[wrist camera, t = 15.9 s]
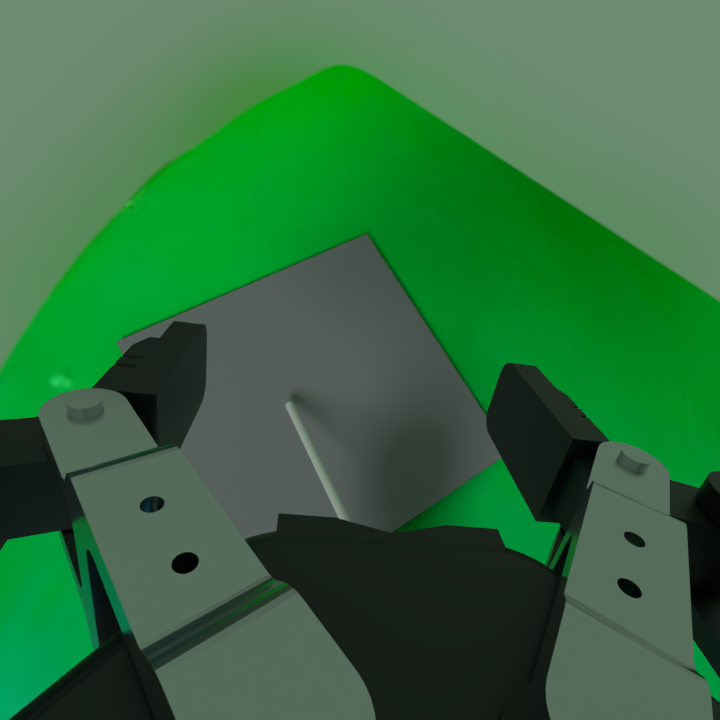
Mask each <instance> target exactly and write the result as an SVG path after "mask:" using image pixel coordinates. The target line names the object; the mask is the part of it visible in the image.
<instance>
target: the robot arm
mask: <svg viewBox="0 0 720 720" xmlns="http://www.w3.org/2000/svg"><path fill="white" fill-rule="evenodd" d="M206 363H207V329H206V325H204V324H196V323H188V322H180V321H174V322H172V324H171V325H170V326H169V327H168V328H167V330H166V331H165V332H164V333H163V334H162V336H161V337H160V338H155V337H148V338H146V339H144V340H141V341H139V342H137V343H135V344H133V345H132V346H131V347H130V348H129V349H128V350H127V351H126V352H125V353H124V354H123V357H120V358H119V359H118V361H117V362H116V363H115V366H114V365H113V366H112V367H111V368H110V369H109V370H108V371H107V372H106V373H105V374H104V375H103V377H102V378H101V379H100V380H99V381H98V382H97V383H96V384H95V385H94V386H93V387H92V388H89V389H80V390H74V391H70V392H66V393H63V394H60V395H58V396H55V397H54V398H52V399H50V400H48V401H47V402H46V403H45V404H44V405H43V406H42V407H41V408H40V410H39V414H38V415H39V417H32V418H22V419H10V420H0V550H1V548H2V547H3V545H4V544H5V543H6V541H7V539H13V538H19V537H25V536H31V535H37V534H42V533H48V532H54V531H59V536H60V539H61V542H62V545H63V548H64V551H65V554H66V557H67V560H68V563H69V566H70V569H71V572H72V575H73V578H74V581H75V584H76V587H77V590H78V593H79V596H80V599H81V602H82V605H83V608H84V612H85V616H86V620H87V624H88V628H89V633H90V637H91V641H92V644H93V648H94V651H93V652H92V653H91V654H90V655H88V656H87V657H86V658H85V659H83V660H82V661H81V662H80V663H78V664H77V665H76V666H75V667H73V668H72V669H71V670H70V671H68V672H67V673H66V674H65V675H64V676H62V677H61V678H60V679H59V680H57V681H56V682H55V683H54V684H52V685H51V686H50V687H49V688H47V689H46V690H45V691H44V692H43V693H41V694H40V695H39V696H38V697H36V698H35V699H34V700H33V701H31V702H30V703H29V704H28V705H26V706H25V707H24V708H23V709H22V710H20V711H19V712H18V713H17V714H15V715H14V716H13V717H12V718H10V719H9V720H720V703H719V702H718V701H717V700H716V699H714V698H713V697H712V696H711V693H710V689H709V685H708V683H707V681H706V679H705V678H704V677H703V676H702V675H700V674H699V673H698V672H697V671H696V669H695V665H694V653H693V640H694V641H695V643H696V644H697V645H698V647H699V648H700V650H701V651H702V653H703V654H704V656H705V657H706V659H707V660H708V662H709V663H710V665H711V666H712V668H713V669H714V671H715V672H716V674H717V675H718V677H719V678H720V471H715V472H711V473H710V474H709V475H708V476H707V478H706V479H705V481H704V483H703V484H702V486H701V487H700V488H696V487H693V486H689V485H686V484H683V483H679V482H676V481H672V480H670V476H669V472H668V470H667V469H666V468H665V467H664V465H663V464H662V463H660V462H659V461H658V460H657V459H655V458H654V457H653V456H651V455H649V454H648V453H646V452H644V451H642V450H640V449H638V448H636V447H633V446H631V445H628V444H624V443H620V442H614V441H609V440H608V439H607V438H606V437H605V435H604V434H603V433H602V432H601V431H600V430H599V429H598V428H597V427H596V426H595V425H594V424H593V423H592V421H591V420H590V419H589V418H586V415H585V414H584V413H583V412H582V411H581V410H580V409H578V406H577V405H576V404H575V403H574V402H573V401H572V400H571V399H570V398H569V397H568V396H567V395H566V394H564V393H563V392H561V391H560V390H558V389H557V388H555V387H554V386H553V385H552V383H551V382H550V381H549V380H548V379H547V378H546V377H545V376H544V375H543V374H542V372H541V371H540V370H539V369H538V368H537V367H535V366H530V365H522V364H514V363H507V364H506V365H505V366H504V367H503V369H502V371H501V373H500V376H499V379H498V382H497V385H496V388H495V391H494V394H493V397H492V400H491V403H490V406H489V409H488V412H487V418H486V425H487V431H488V433H489V435H490V437H491V439H492V441H493V443H494V445H495V446H496V448H497V450H498V452H499V454H500V456H501V458H502V459H503V461H504V463H505V465H506V467H507V469H508V470H509V472H510V474H511V476H512V478H513V480H514V481H515V483H516V485H517V487H518V489H519V491H520V492H521V494H522V496H523V498H524V500H525V502H526V503H527V505H528V507H529V509H530V511H531V513H532V515H533V516H534V518H535V520H536V521H540V522H553V523H559V524H560V527H559V529H558V531H557V534H556V536H555V538H554V541H553V543H552V546H551V549H550V552H549V555H548V558H547V561H546V564H545V565H544V564H542V563H540V562H539V561H537V560H535V559H533V558H531V557H529V556H527V555H525V554H522V553H520V552H517V551H514V550H512V549H509V548H505V545H504V543H503V541H502V538H501V536H500V534H499V532H498V529H488V528H474V527H461V526H447V525H446V526H440V527H433V528H426V529H420V530H413V531H407V532H400V533H391V532H386V531H383V530H379V529H375V528H372V527H368V526H364V525H361V524H357V523H354V522H350V521H346V520H343V519H339V518H335V517H323V516H309V515H295V514H281V513H279V514H278V522H277V530H276V531H274V532H268V533H263V534H259V535H255V536H252V537H249V538H246V539H244V538H243V537H242V536H241V534H240V533H239V531H238V530H237V529H236V527H235V526H234V524H233V523H232V522H231V520H230V519H229V517H228V516H227V515H226V513H225V512H224V510H223V509H222V508H221V506H220V505H219V503H218V502H217V501H216V499H215V498H214V496H213V495H212V494H211V492H210V491H209V489H208V488H207V487H206V485H205V484H204V482H203V481H202V480H201V478H200V477H199V475H198V474H197V473H196V471H195V470H194V469H193V467H192V466H191V464H190V463H189V462H188V460H187V459H186V457H185V456H184V455H183V453H182V452H181V450H180V448H181V446H182V444H183V442H184V440H185V438H186V436H187V433H188V431H189V429H190V427H191V425H192V423H193V421H194V419H195V416H196V414H197V412H198V410H199V408H200V406H201V404H202V401H203V398H204V393H205V387H206Z"/></svg>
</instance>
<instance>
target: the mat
mask: <svg viewBox="0 0 720 720" xmlns="http://www.w3.org/2000/svg"><path fill="white" fill-rule="evenodd" d="M174 321H180V322H188V323H196V324H204V325H206V329H207V363H206V387H205V393H204V398H203V401H202V404H201V406H200V408H199V410H198V412H197V414H196V416H195V419H194V421H193V423H192V425H191V427H190V429H189V431H188V433H187V436H186V438H185V440H184V442H183V444H182V446H181V448H180V450H181V452H182V453H183V455H184V456H185V457H186V459H187V460H188V462H189V463H190V464H191V466H192V467H193V469H194V470H195V471H196V473H197V474H198V475H199V477H200V478H201V480H202V481H203V482H204V484H205V485H206V487H207V488H208V489H209V491H210V492H211V494H212V495H213V496H214V498H215V499H216V501H217V502H218V503H219V505H220V506H221V508H222V509H223V510H224V512H225V513H226V515H227V516H228V517H229V519H230V520H231V522H232V523H233V524H234V526H235V527H236V529H237V530H238V531H239V533H240V534H241V536H242V537H243V538H244V539H246V538H249V537H252V536H255V535H259V534H263V533H268V532H274V531H276V530H277V522H278V514H279V513H281V514H295V515H309V516H323V517H335V518H338V516H337V514H336V512H335V510H334V508H333V506H332V503H331V501H330V499H329V497H328V495H327V493H326V491H325V489H324V487H323V484H322V482H321V480H320V478H319V476H318V474H317V472H316V470H315V468H314V465H313V463H312V461H311V459H310V457H309V455H308V453H307V451H306V449H305V447H304V444H303V442H302V440H301V438H300V436H299V434H298V432H297V430H296V428H295V425H294V423H293V421H292V419H291V417H290V415H289V413H288V411H287V409H286V406H285V405H286V403H287V402H290V401H292V402H293V403H294V405H295V407H296V409H297V411H298V413H299V415H300V417H301V419H302V421H303V423H304V425H305V427H306V429H307V431H308V433H309V435H310V437H311V439H312V441H313V443H314V445H315V447H316V449H317V451H318V453H319V456H320V458H321V460H322V462H323V464H324V466H325V468H326V470H327V472H328V474H329V476H330V478H331V480H332V482H333V484H334V486H335V488H336V490H337V492H338V494H339V496H340V498H341V500H342V502H343V504H344V506H345V508H346V510H347V512H348V514H349V516H350V518H351V520H352V522H354V523H357V524H361V525H364V526H368V527H372V528H375V529H379V530H383V531H386V532H391V533H392V532H394V531H395V530H396V529H398V528H399V527H401V526H402V525H404V524H405V523H407V522H408V521H410V520H411V519H413V518H414V517H415V516H417V515H418V514H420V513H421V512H423V511H424V510H426V509H427V508H429V507H430V506H432V505H433V504H435V503H436V502H437V501H439V500H440V499H442V498H443V497H445V496H446V495H448V494H449V493H451V492H452V491H454V490H455V489H456V488H458V487H459V486H461V485H462V484H464V483H465V482H467V481H468V480H470V479H471V478H473V477H474V476H475V475H477V474H478V473H480V472H481V471H483V470H484V469H486V468H487V467H489V466H490V465H492V464H493V463H495V462H496V461H497V460H499V459H500V458H501V456H500V454H499V452H498V450H497V448H496V446H495V445H494V443H493V441H492V439H491V437H490V435H489V433H488V431H487V425H486V418H487V416H486V415H485V413H484V412H483V410H482V409H481V407H480V406H479V404H478V403H477V401H476V400H475V398H474V397H473V395H472V393H471V392H470V390H469V389H468V387H467V386H466V384H465V383H464V381H463V380H462V378H461V377H460V375H459V374H458V372H457V371H456V369H455V368H454V366H453V365H452V363H451V361H450V360H449V358H448V357H447V355H446V354H445V352H444V351H443V349H442V348H441V346H440V345H439V343H438V342H437V340H436V339H435V337H434V336H433V334H432V332H431V331H430V329H429V328H428V326H427V325H426V323H425V322H424V320H423V319H422V317H421V316H420V314H419V313H418V311H417V310H416V308H415V307H414V305H413V304H412V302H411V300H410V299H409V297H408V296H407V294H406V293H405V291H404V290H403V288H402V287H401V285H400V284H399V282H398V281H397V279H396V278H395V276H394V275H393V273H392V272H391V270H390V268H389V267H388V265H387V264H386V262H385V261H384V259H383V258H382V256H381V255H380V253H379V252H378V250H377V249H376V247H375V246H374V244H373V243H372V241H371V239H370V238H369V236H368V235H367V234H365V235H363V236H361V237H358V238H356V239H354V240H351V241H349V242H347V243H344V244H342V245H340V246H337V247H335V248H333V249H330V250H328V251H326V252H323V253H321V254H319V255H316V256H314V257H312V258H310V259H307V260H305V261H303V262H300V263H298V264H296V265H293V266H291V267H289V268H286V269H284V270H282V271H279V272H277V273H275V274H272V275H270V276H268V277H265V278H263V279H261V280H258V281H256V282H254V283H251V284H249V285H247V286H244V287H242V288H240V289H237V290H235V291H233V292H230V293H228V294H226V295H223V296H221V297H219V298H216V299H214V300H212V301H209V302H207V303H205V304H202V305H200V306H198V307H195V308H193V309H191V310H188V311H186V312H184V313H181V314H179V315H177V316H174V317H172V318H170V319H167V320H165V321H163V322H160V323H158V324H156V325H153V326H151V327H149V328H146V329H144V330H142V331H139V332H137V333H135V334H132V335H130V336H128V337H126V338H123V339H121V340H119V341H116V342H117V344H118V346H119V348H120V350H121V352H122V354H124V353H125V352H126V351H127V350H128V349H129V348H130V347H131V346H132V345H133V344H135V343H137V342H139V341H141V340H144V339H146V338H148V337H155V338H160V337H161V336H162V334H163V333H164V332H165V331H166V330H167V328H168V327H169V326H170V325H171V324H172V322H174Z"/></svg>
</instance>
